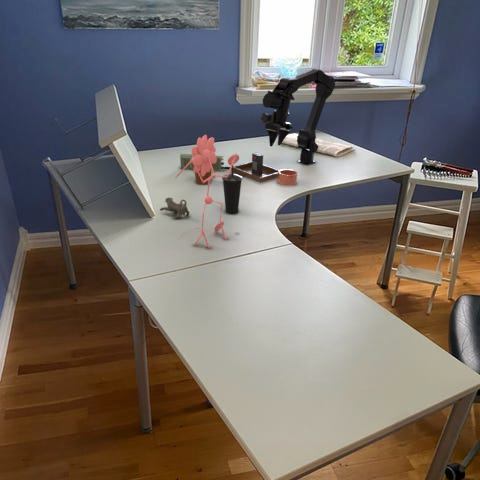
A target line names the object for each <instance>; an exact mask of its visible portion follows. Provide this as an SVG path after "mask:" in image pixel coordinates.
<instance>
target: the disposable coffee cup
mask: <svg viewBox="0 0 480 480" xmlns="http://www.w3.org/2000/svg"><path fill="white" fill-rule="evenodd" d="M192 158H193V155H192ZM211 164H212V163H211ZM200 172H201V170H200V171H199V173H200ZM200 175H201V174H200ZM211 176H212V170H211V169H210V172H206V174H205V175H204V176H203V177H202V176H201V177H202V179H203V181H204V180H206V179H207V178H209V177H211ZM194 178H195V183H196V184H198V185H208V181H206V182H204V183H202V181H201V179H200V177H199V175H198V173H197V172H196V173H194Z"/></svg>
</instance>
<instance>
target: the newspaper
mask: <svg viewBox="0 0 480 480" xmlns="http://www.w3.org/2000/svg"><path fill="white" fill-rule="evenodd" d="M298 134H299V133H289V134H288V135H287V136H286V137H285V139H284V140H283V142H282V143H281V144H283V145H288V146H292V147H296V148H298V143H297V136H298ZM315 142H316V144H317V145H318V150H317V151H316V152H315V153H321V154H324V155H328V156H331V157H341V156H343V155H346V154H348V153H349V152H351V151H353V150H355V149H354V147H353V146H351V145H346V144H342V143H338V142H334V141H329V140H325V139H321V138H316V139H315Z"/></svg>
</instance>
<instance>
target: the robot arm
mask: <svg viewBox="0 0 480 480" xmlns="http://www.w3.org/2000/svg"><path fill="white" fill-rule="evenodd" d="M311 83H314V84H315V90H314V91H315V98H314V101H313V104H312V107H311V110H310V112H309V115H308V118H307V121H306V124H305V127H303V129H299V131H298V133H297V134H298V136H297V143H298V147H297V148H298V149H299V150H300V155H299V160H297V162H298V163H300V164H302V165H303V164H304V165H306V166H307V165H312V164H314V163H316V161H315V160H314V155H315V153H317V152H316V151H317V150H318V145H317V144H316V142H315V139H317V133H316V129H317V126H318V124H319V122H320V118H321V115H322V112H323V109H324V107H325V104H326V100H328V98H329V97H330V96H331V95H332V94H333V92H334V90H335V88H336V82H335V79H334V78H332V77H331V76H330V75H327V73H326V72H324V71H323V70H322V69H318V68H312V69H311V70H309V71H305V72H304V73H301V74H299V75H296V76H291V77H290V76H289V77H281V78H280V79H279V82H278V83H277V85H275V87H274V89H273V90H267V93H265V95H264V96H263V97H262V105H263V107H264V108H266V109H274V110H273V111H272V113H271V114H269V113H268V112H262V114H261V117H260V120H261V121H262V124H264V128H263V129H265V131H266V132H267V134H268V138H269V139H268V141H269V147H273V146H274V145H275V143H276V140H277V146H281V145H282V144H283V143H282V142H283V140H284V139H285V137H286V136H287V135H289V134H290V132H291V131H292V129H293V124H292V123H291V122H287V121H288V117H289V116H290V112H289V111H290V105H291V101H295V100H296V99H295V97H294V95H293V94H294V93H296V92H297V91H299V88H301V87H303V86H305V85H308V84H311Z"/></svg>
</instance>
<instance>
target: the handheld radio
mask: <svg viewBox="0 0 480 480" xmlns="http://www.w3.org/2000/svg"><path fill="white" fill-rule="evenodd" d="M216 158H217V162H216V163H214V164H212V167H213V170H214V172H224V170H226V171H227V170H228V171H229V169H230V166H223V165H225V162H224V155H216ZM179 159H180V169H181V170H182V169H183V168H184V167H185V166H186V165H187V164H188V163H189V162H190V161H191V159H192V153H180V154H179ZM193 168H194V165H193V164H192V162H191V163H190V164H189V165H188V166H187V167H186V168H185V169H184V170H193Z"/></svg>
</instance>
